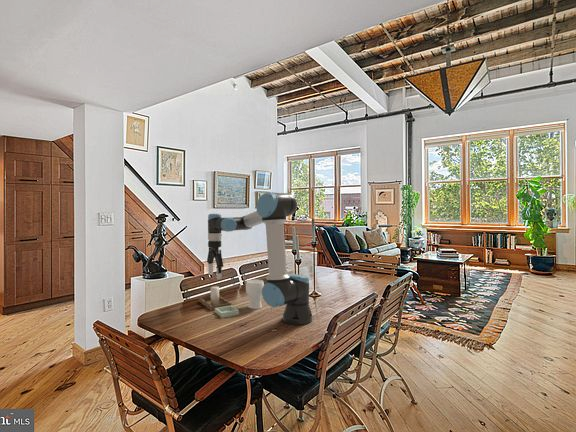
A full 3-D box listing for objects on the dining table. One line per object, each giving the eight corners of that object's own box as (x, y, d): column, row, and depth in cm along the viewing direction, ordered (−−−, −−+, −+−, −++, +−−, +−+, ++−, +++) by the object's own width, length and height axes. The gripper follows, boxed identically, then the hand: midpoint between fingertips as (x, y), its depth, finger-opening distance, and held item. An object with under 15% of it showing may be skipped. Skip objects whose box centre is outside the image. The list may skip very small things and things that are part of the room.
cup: (261, 310, 187) (261, 283, 186) (243, 309, 189) (243, 283, 188) (266, 305, 197) (266, 279, 196) (249, 304, 199) (249, 278, 199)
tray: (231, 308, 191) (231, 303, 191) (211, 311, 185) (211, 306, 185) (218, 299, 209) (218, 294, 209) (199, 302, 202) (199, 297, 202)
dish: (238, 314, 180) (238, 310, 180) (221, 317, 175) (221, 313, 175) (231, 309, 188) (231, 305, 188) (214, 312, 183) (214, 308, 183)
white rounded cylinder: (220, 304, 196) (220, 287, 196) (212, 306, 193) (212, 288, 193) (217, 302, 200) (217, 286, 200) (209, 303, 197) (209, 287, 197)
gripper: (229, 242, 187) (229, 280, 188) (213, 238, 208) (213, 272, 209) (216, 242, 183) (216, 281, 184) (201, 238, 204) (201, 273, 205)
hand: (214, 276), depth 196 cm, fingers open, 13 cm apart
